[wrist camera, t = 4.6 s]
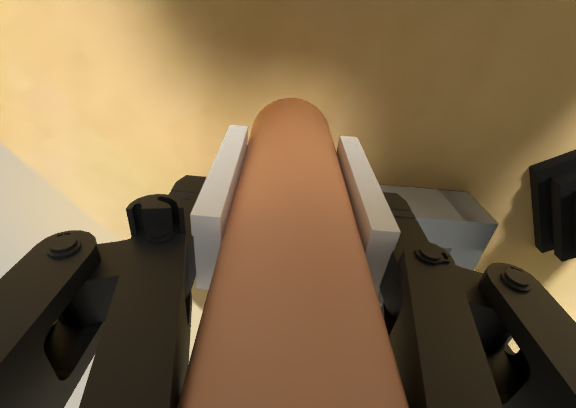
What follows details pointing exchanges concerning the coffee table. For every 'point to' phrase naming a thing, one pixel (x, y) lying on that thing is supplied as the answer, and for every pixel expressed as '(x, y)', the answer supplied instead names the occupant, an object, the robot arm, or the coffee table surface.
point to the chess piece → (555, 205)
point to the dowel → (292, 284)
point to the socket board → (449, 222)
